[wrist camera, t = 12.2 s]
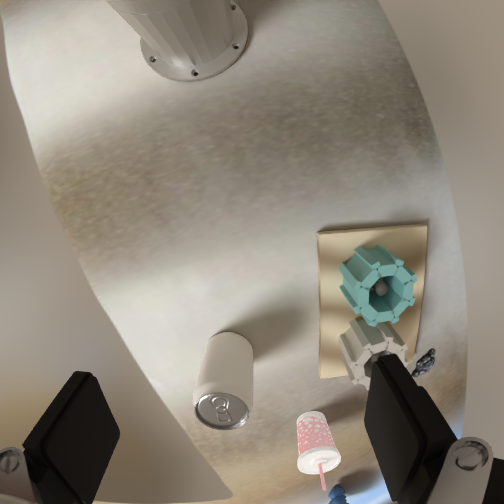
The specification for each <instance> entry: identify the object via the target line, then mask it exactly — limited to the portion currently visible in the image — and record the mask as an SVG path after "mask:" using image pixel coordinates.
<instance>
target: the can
mask: <svg viewBox="0 0 504 504" xmlns="http://www.w3.org/2000/svg"><path fill="white" fill-rule="evenodd" d="M193 404H194V411H195V415H196V417H197V418H198V420H199V421H200V422H201V423H203V424H204V425H206V426H208V427H210V428H213V429H217V430H232V429H236V428H238V427H240V426H242V425H243V424H244V423H245V422H246V421H247V419H248V417H249V413H250V412H251V410H252V407H253V349H252V346H251V344H250V343H249V342H248V340H247V339H245V338H244V337H243V336H241V335H239V334H236V333H232V332H224V333H220V334H217V335H215V336H213V337H211V338H210V339H209V340H208V342H207V343H206V345H205V348H204V352H203V356H202V360H201V364H200V368H199V372H198V376H197V381H196V385H195V389H194V394H193Z"/></svg>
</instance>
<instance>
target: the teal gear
mask: <svg viewBox="0 0 504 504" xmlns="http://www.w3.org/2000/svg"><path fill="white" fill-rule="evenodd" d="M354 252H355V254H354V255H353V257H352V258H351V259H350V260H349V261H348V262H347V263H346V264H344V263H341V266H340V269H339V271H340V272H341V273H342V275H343V285H341V286H339V288H340V290H341V292H342V294H343V295H344V297H345V298H346V300H347V301H348V303H349V305H350V306H351V308H352V309H353V311H354V312H355V314H358V313H361V315H362V316H363V318H364V319H365V321H366V322H367V324H368V325H370V326H374V327H375V326H376V324H377V323H378V322H385V321H390V322H391V323H392V324H393V323H395V322H397V321H399V317H398V316H399V315H400V314H401V313H402V312H403V311H404V310H405V309H406V308H407V307H408V305H410V306H413V304H414V302H415V298H414V297H413V296H412V295H413V284H414V283H415V282H416V281H417V277H416V274H415V273H414V272H412V271H411V270H410V269H408V268H407V267H406V266H404V265H403V264H404V261H402V260H401V259H400V258H398V257H397V256H395V255H394V254H393V253H391V252H390V251H388V250H387V249H385V248H384V247H382V246H379V245H376V247H375V249H366V250H365V249H363V248H362V247H361V246H359V247H357V248H356V249H354ZM380 277H383V280H382V281H383V282H384V283H385V284H386V285H387V286H388V291H387V293H386V294H385V295H383V296H380V295H378V294H377V293H376V292H375V290H369V289H370V288H371V287H372V286H373V285H374V283H375V282H376V281H377V280H378V279H379V278H380Z"/></svg>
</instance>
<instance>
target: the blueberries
mask: <svg viewBox="0 0 504 504" xmlns="http://www.w3.org/2000/svg"><path fill="white" fill-rule="evenodd" d="M416 354H417V353H416ZM434 355H435V351H434V350H433V349H430V350H429V351H428V353H427V354H426V355H424V356H423V357H422V358H421V359H419V360H418V361H417V365H416V369H415V370H414V371H413V372H412V374H411V376H413V377H417V376H419V375H422V374H424V373H425V372H428V371H429V369H430V368H432V367H433V364H434V358H433V357H432V356H434Z"/></svg>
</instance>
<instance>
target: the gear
mask: <svg viewBox="0 0 504 504" xmlns="http://www.w3.org/2000/svg"><path fill="white" fill-rule="evenodd" d="M349 324H350V325H351V326H350V327H349V329H348V330H347V332H346V333H345V334H344V336H339V339H338V343H339V345H340V347H341V350H342V353H341V354H340V355H341V358H342V360H343V362H344V365H345V367H346V369H347V372H348V374H349V377H350V379H351V381H352V383H353V384H354V385H356V384H358V383H360V384H362V385H365V386H366V389H367V390H369V386H370V379H371V371H372V364H373V363H372V362H371V360H370V357H371V356H372V354H375V353H378V352H380V354H381V356H383V355H388V354H394V353H395V354H397V355H398V357H399V358H400V360H401V361H402V363H403V364H404V366H405V367H407V364H408V361H407V359H406V358H405V351H406V350H407V349H408V347H407V346H406V344H405V343H404V341H403V340H402V339H401V337H400V336H399V335H398V333H397V332H396V331H395V330H394V328H393V327H392V326H391V324H390V323H389V322H388V321H386V322H385V323H383V322H378V323H377V324H376V326H375V327H374V326H370V325H368V324H367V322H366V321H365V319H363V320H360V321H356V319H354V320H352V321H351V322H349Z"/></svg>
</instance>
